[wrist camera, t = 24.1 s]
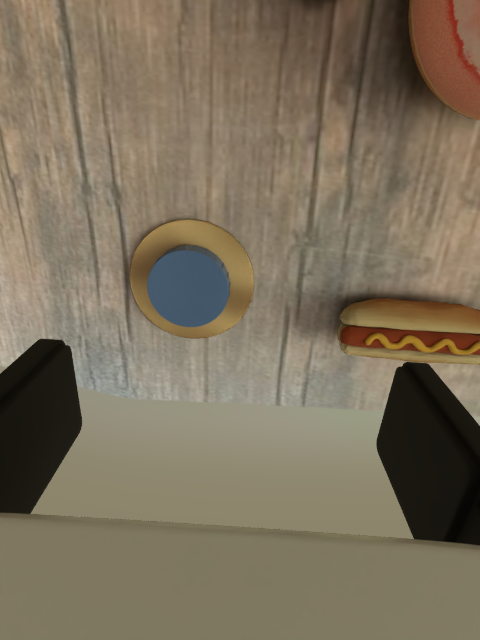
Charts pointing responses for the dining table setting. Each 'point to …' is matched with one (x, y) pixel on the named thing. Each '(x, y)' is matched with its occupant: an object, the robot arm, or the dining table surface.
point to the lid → (189, 286)
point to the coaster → (206, 238)
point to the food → (411, 331)
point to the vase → (448, 51)
